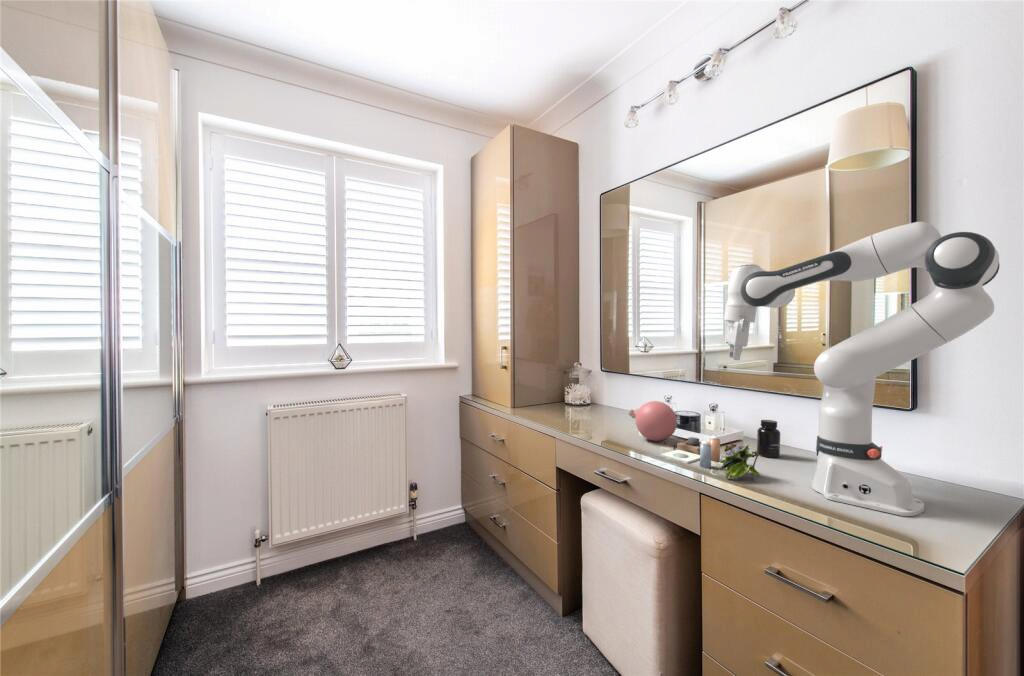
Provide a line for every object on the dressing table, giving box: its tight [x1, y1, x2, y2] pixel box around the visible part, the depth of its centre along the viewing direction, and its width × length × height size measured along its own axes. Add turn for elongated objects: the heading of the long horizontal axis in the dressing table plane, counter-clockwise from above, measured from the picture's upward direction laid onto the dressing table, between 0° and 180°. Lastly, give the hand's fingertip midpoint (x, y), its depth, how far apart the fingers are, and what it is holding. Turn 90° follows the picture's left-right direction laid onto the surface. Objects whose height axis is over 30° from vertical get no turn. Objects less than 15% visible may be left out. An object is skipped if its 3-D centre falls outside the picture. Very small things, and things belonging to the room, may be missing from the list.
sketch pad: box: [660, 449, 700, 464], centre depth 144 cm, size 10×10×1 cm
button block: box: [676, 440, 701, 455], centre depth 151 cm, size 8×8×2 cm
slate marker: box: [699, 440, 712, 469], centre depth 134 cm, size 3×3×8 cm
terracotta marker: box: [708, 435, 721, 462], centre depth 140 cm, size 3×3×8 cm
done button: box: [687, 436, 700, 446], centre depth 151 cm, size 4×4×3 cm
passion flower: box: [718, 443, 760, 481], centre depth 125 cm, size 11×11×12 cm
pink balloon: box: [627, 400, 678, 442], centre depth 167 cm, size 15×20×15 cm
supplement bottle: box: [756, 419, 781, 459], centre depth 145 cm, size 7×7×12 cm
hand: (734, 358), depth 136 cm, fingers open, 8 cm apart
